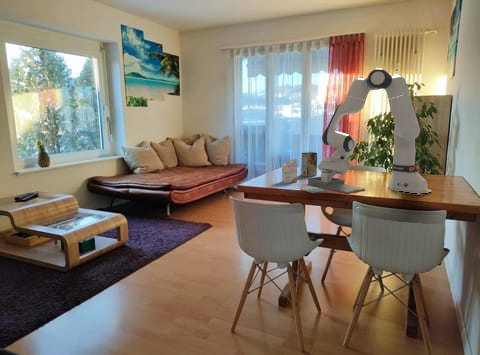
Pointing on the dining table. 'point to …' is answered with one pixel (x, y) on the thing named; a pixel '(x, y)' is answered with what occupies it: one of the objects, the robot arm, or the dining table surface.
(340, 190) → the equipment case
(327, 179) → the block
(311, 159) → the coffee box
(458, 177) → the dining table surface
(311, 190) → the pad
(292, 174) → the ink cartridge box
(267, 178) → the dining table surface
